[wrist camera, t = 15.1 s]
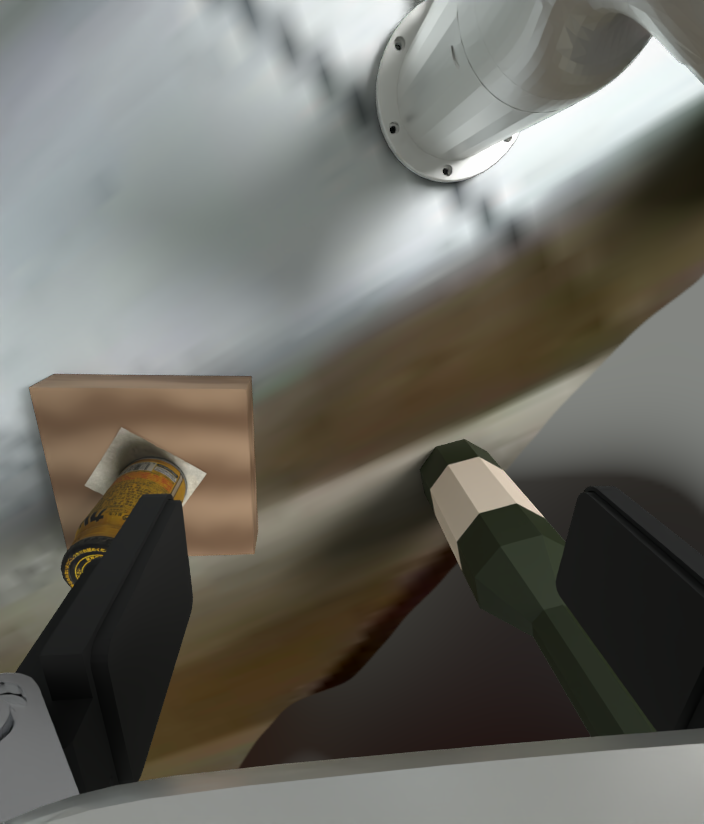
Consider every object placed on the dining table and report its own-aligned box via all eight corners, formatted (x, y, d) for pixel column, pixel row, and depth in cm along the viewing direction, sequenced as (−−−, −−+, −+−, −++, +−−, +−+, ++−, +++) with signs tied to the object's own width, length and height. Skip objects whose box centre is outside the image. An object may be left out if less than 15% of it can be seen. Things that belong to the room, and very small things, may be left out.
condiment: (168, 526, 43) (121, 625, 32) (85, 484, 41) (2, 576, 29) (207, 472, 41) (171, 557, 30) (122, 425, 39) (50, 499, 28)
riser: (53, 374, 40) (28, 387, 37) (251, 376, 42) (246, 389, 39) (88, 534, 47) (69, 559, 43) (258, 530, 49) (254, 553, 45)
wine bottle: (427, 435, 47) (609, 719, 19) (500, 442, 48) (770, 719, 20) (412, 501, 50) (550, 832, 22) (480, 507, 51) (694, 826, 23)
